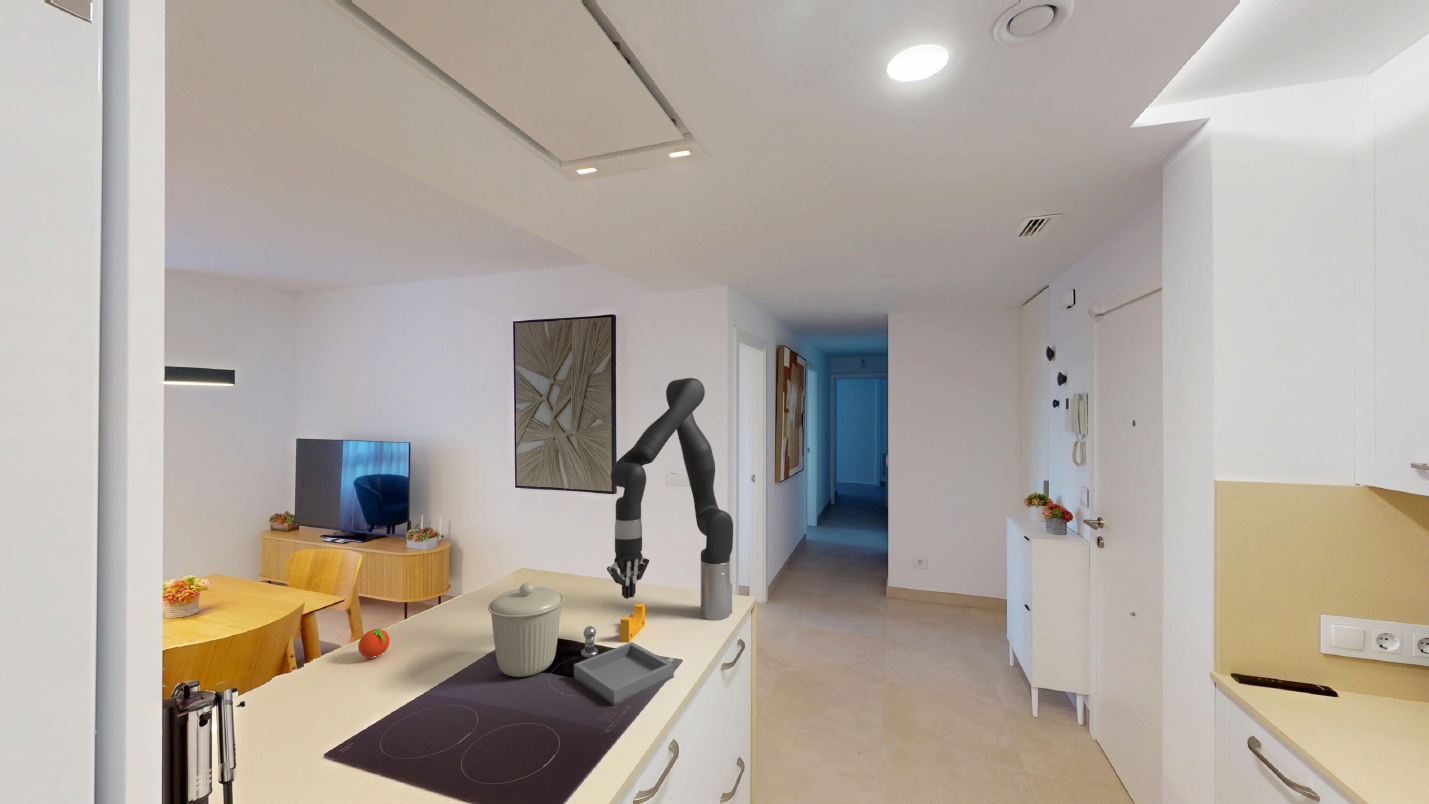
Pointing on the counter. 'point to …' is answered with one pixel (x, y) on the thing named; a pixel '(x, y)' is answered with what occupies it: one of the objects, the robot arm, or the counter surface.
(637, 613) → the pipe clamp
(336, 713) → the counter surface
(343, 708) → the counter surface
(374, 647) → the clementine
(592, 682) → the parts bin
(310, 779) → the counter surface
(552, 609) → the canister
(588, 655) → the door knob
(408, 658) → the counter surface
